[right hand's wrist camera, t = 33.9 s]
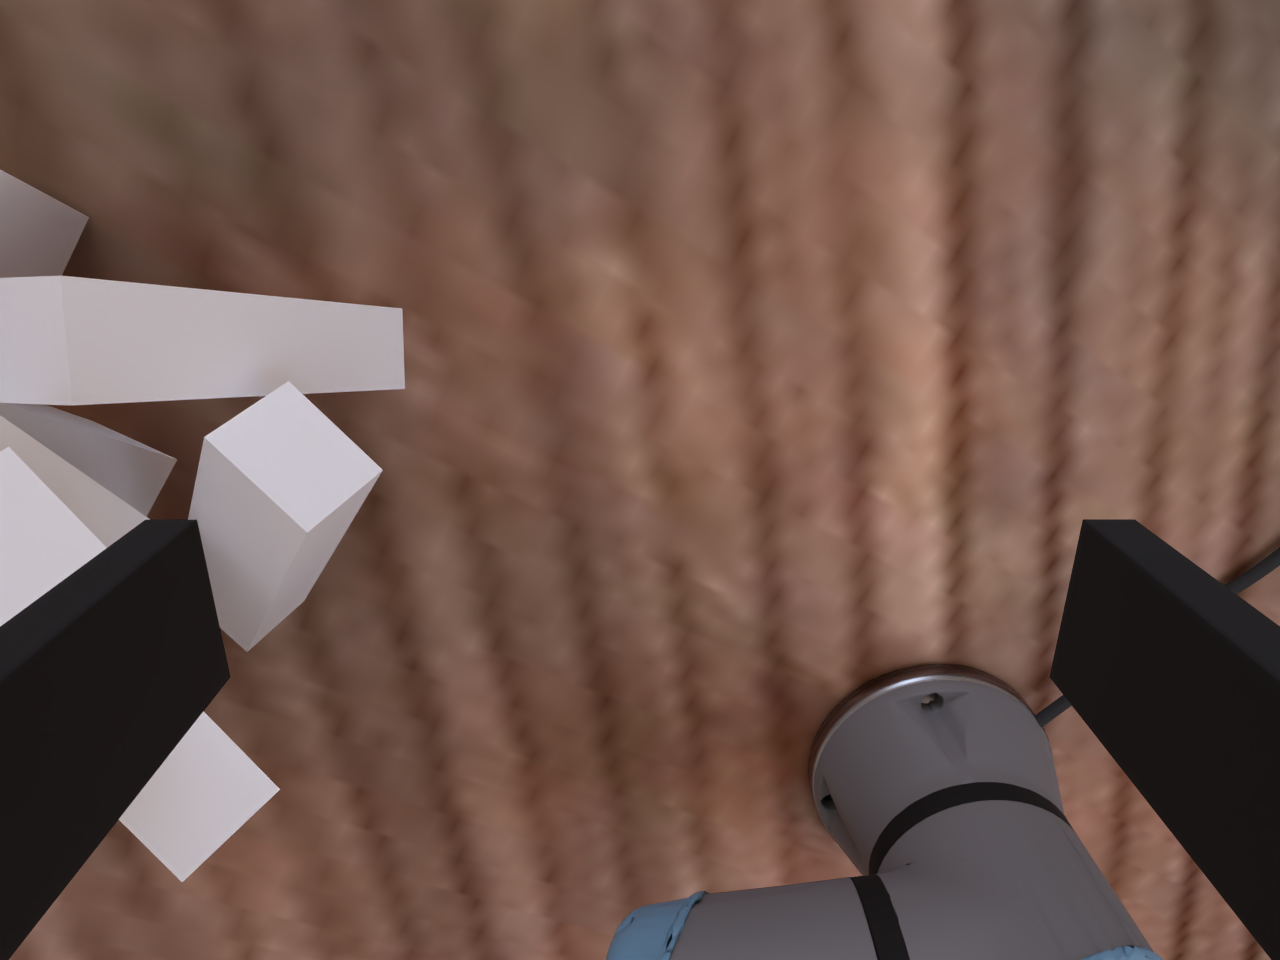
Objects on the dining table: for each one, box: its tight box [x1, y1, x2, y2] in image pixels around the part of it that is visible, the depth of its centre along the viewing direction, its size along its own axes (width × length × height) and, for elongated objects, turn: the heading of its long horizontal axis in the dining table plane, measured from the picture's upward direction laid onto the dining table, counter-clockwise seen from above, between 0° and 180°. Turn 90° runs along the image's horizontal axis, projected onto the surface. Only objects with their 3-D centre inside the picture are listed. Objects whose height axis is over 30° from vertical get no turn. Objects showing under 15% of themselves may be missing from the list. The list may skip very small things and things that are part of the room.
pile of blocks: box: [0, 170, 405, 882], centre depth 37 cm, size 35×30×35 cm
